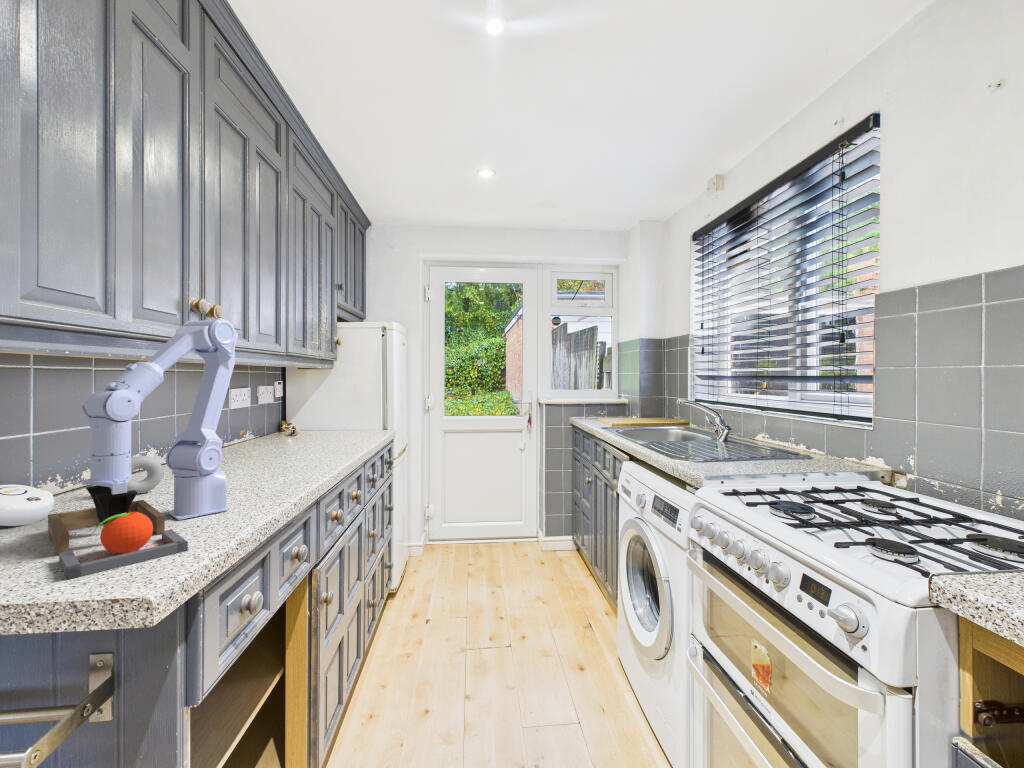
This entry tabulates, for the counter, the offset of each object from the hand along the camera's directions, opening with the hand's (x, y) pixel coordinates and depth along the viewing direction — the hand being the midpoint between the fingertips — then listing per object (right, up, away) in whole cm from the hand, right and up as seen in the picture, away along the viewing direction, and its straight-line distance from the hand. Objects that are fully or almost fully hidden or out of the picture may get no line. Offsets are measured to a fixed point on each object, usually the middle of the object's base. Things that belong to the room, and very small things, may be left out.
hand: (111, 525), depth 83 cm
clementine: (+9, -3, -7) cm, 11 cm away
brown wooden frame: (-3, -2, +2) cm, 4 cm away
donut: (-22, -2, +32) cm, 38 cm away
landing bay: (+10, -3, -8) cm, 13 cm away
